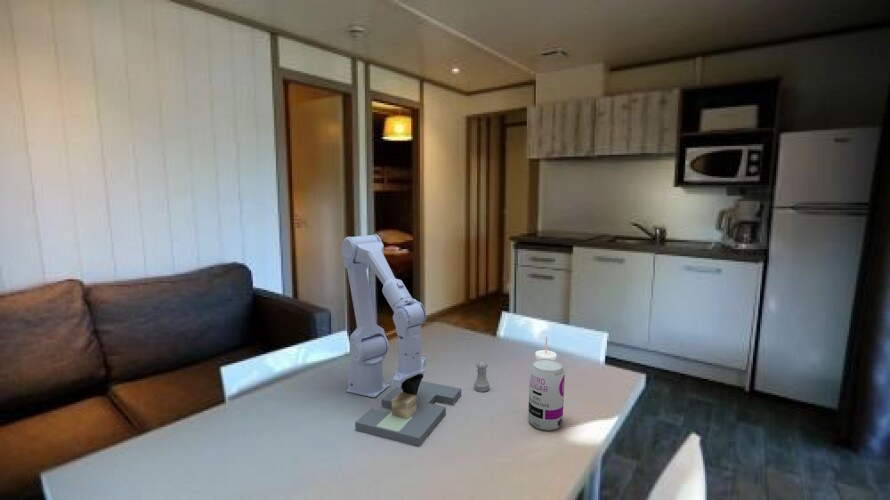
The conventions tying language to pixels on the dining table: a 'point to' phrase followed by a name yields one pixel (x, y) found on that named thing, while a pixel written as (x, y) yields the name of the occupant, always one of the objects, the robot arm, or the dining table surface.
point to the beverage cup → (545, 354)
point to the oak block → (404, 405)
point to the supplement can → (546, 394)
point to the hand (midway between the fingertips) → (410, 402)
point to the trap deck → (418, 423)
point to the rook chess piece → (481, 377)
